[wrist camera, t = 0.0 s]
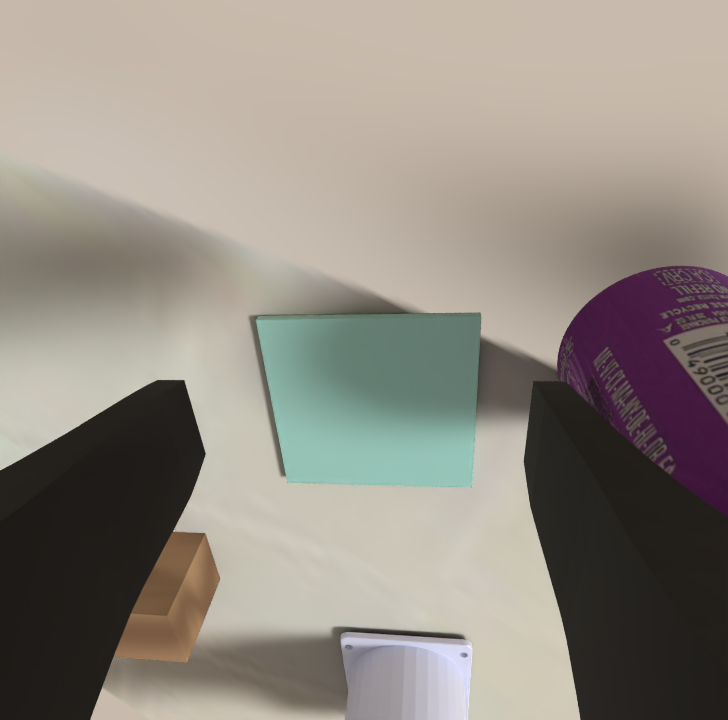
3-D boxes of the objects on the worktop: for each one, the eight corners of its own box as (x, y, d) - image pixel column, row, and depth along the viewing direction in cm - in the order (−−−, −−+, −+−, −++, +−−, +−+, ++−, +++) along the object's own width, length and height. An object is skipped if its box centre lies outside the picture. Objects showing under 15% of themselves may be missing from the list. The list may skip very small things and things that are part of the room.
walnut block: (220, 578, 31) (187, 662, 27) (157, 575, 32) (115, 657, 27) (205, 532, 29) (167, 616, 25) (138, 529, 30) (90, 611, 25)
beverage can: (517, 371, 22) (596, 664, 11) (639, 222, 18) (916, 454, 8) (654, 441, 23) (840, 767, 12) (795, 314, 19) (1221, 625, 9)
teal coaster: (471, 481, 25) (471, 487, 25) (289, 477, 26) (287, 482, 26) (480, 312, 20) (481, 317, 20) (258, 315, 21) (255, 319, 21)
